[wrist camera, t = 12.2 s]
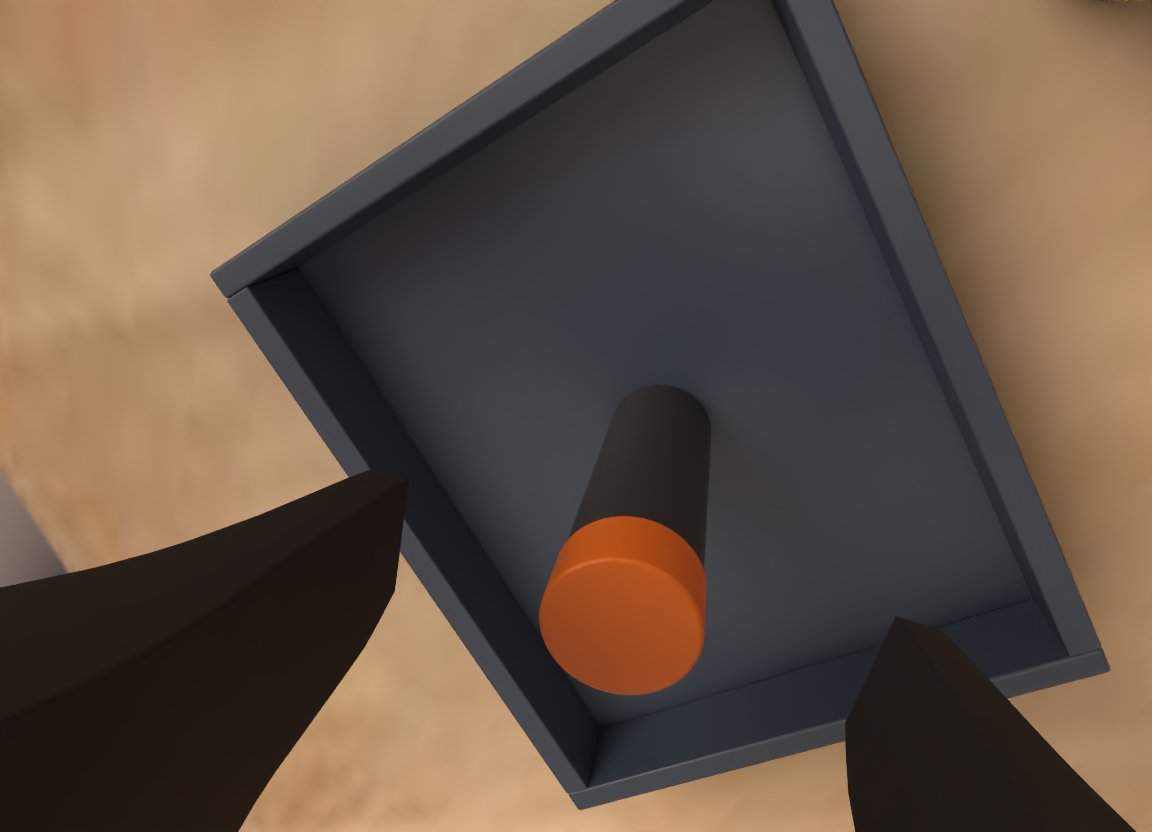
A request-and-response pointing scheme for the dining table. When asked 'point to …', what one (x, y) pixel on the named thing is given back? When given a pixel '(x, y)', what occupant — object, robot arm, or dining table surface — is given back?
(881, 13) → the dining table surface
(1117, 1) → the pen pot
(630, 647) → the marker
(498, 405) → the tray
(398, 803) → the dining table surface
